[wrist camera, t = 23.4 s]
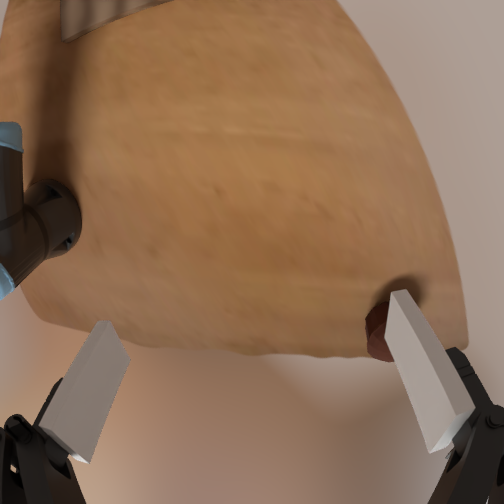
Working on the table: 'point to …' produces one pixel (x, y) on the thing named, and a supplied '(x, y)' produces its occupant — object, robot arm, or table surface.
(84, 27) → the walnut board
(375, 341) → the muffin
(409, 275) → the table surface
